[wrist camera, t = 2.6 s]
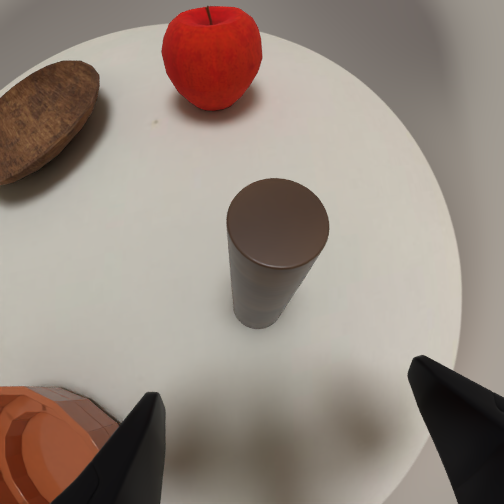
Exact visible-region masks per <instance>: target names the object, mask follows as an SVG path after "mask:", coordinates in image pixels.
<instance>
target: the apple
mask: <svg viewBox="0 0 504 504" xmlns="http://www.w3.org/2000/svg"><path fill="white" fill-rule="evenodd" d="M162 57H163V61H164V65H165V69H166V73H167V75H168V77H169V78H170V80H171V82H172V83H173V85H174V86H175V88H176V89H177V91H178V92H179V93H180V94H181V95H182V96H184V97H185V98H186V99H187V100H188V101H189V102H190V103H192V104H193V105H195V106H196V107H198V108H200V109H203V110H209V111H215V110H221V109H225V108H227V107H230V106H231V105H232V104H234V103H235V102H236V101H237V100H238V99H239V98H240V97H241V96H242V95H243V94H244V93H245V91H246V90H247V88H248V87H249V86H250V84H251V83H252V81H253V79H254V78H255V76H256V74H257V73H258V70H259V67H260V64H261V61H262V45H261V37H260V33H259V29H258V27H257V25H256V23H255V21H254V20H253V18H252V17H251V16H249V15H248V14H247V13H245V12H244V11H242V10H241V9H239V8H235V7H220V6H210V7H208V6H207V7H203V8H197V9H191V10H188V11H185V12H182V13H180V14H179V15H178V16H177V17H176V18H174V19H173V20H172V21H171V22H170V23H169V25H168V28H167V30H166V33H165V35H164V38H163V45H162Z"/></svg>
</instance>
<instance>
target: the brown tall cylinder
mask: <svg viewBox="0 0 504 504" xmlns="http://www.w3.org/2000/svg"><path fill="white" fill-rule="evenodd" d="M226 220H227V237H228V250H229V263H230V275H231V287H232V298H233V308H234V312H235V315H236V317H237V318H238V320H239V321H240V322H241V323H242V324H244V325H245V326H247V327H250V328H254V329H262V328H266V327H268V326H270V325H272V324H273V323H274V322H275V321H276V320H277V319H278V317H279V316H280V314H281V313H282V311H283V310H284V309H285V307H286V306H287V304H288V303H289V301H290V300H291V298H292V296H293V295H294V293H295V292H296V290H297V289H298V287H299V286H300V284H301V283H302V281H303V280H304V278H305V277H306V275H307V273H308V272H309V270H310V269H311V267H312V266H313V264H314V262H315V261H316V259H317V258H318V256H319V255H320V253H321V251H322V250H323V248H324V246H325V244H326V242H327V239H328V235H329V220H328V215H327V212H326V210H325V208H324V206H323V204H322V203H321V201H320V200H319V198H318V197H317V196H316V195H315V194H314V193H313V192H312V191H310V190H309V189H308V188H306V187H304V186H303V185H301V184H299V183H296V182H294V181H291V180H286V179H279V178H270V179H264V180H259V181H256V182H254V183H252V184H250V185H248V186H246V187H245V188H243V189H242V190H241V191H240V192H239V193H238V194H237V195H236V196H235V197H234V199H233V200H232V202H231V204H230V206H229V209H228V212H227V219H226Z"/></svg>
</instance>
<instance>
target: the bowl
mask: <svg viewBox="0 0 504 504" xmlns="http://www.w3.org/2000/svg"><path fill="white" fill-rule="evenodd" d="M99 87H100V85H99V74H98V73H97V71H96V70H95V69H94V68H93V66H91V65H89V64H87V63H85V62H82V61H60V62H57V63H54V64H51V65H48V66H46V67H44V68H42V69H40V70H38V71H36V72H34V73H32V74H31V75H29V76H28V77H26V78H25V79H23V80H22V81H20V82H19V83H18V84H16V85H15V86H13V87H12V88H11V89H10V90H9V91H8V92H6V93H5V94H4V95H3V96H2V97H1V98H0V185H4V184H9V183H14V182H16V181H18V180H20V179H22V178H24V177H26V176H28V175H29V174H31V173H33V172H35V171H37V170H39V169H40V168H42V167H43V166H44V165H46V164H47V163H48V162H50V161H51V160H52V159H54V158H55V157H56V156H58V155H59V154H60V153H61V151H62V150H63V149H64V148H65V147H66V146H67V144H68V143H69V142H70V141H71V140H72V139H73V138H74V137H75V136H76V134H77V133H78V132H79V131H80V130H81V129H82V128H83V126H84V124H85V123H86V121H87V119H88V118H89V116H90V115H91V113H92V111H93V108H94V106H95V103H96V101H97V97H98V92H99Z"/></svg>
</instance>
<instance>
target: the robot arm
mask: <svg viewBox="0 0 504 504" xmlns="http://www.w3.org/2000/svg"><path fill="white" fill-rule="evenodd" d="M408 380H409V383H410V385H411V388H412V391H413V394H414V397H415V400H416V403H417V406H418V408H419V411H420V413H421V415H422V417H423V420H424V422H425V424H426V426H427V428H428V431H429V433H430V435H431V437H432V440H433V442H434V444H435V446H436V449H437V451H438V453H439V456H440V458H441V461H442V463H443V465H444V467H445V470H446V473H447V475H448V478H449V480H450V482H451V485H452V488H453V491H454V494H455V496H456V499H457V502H458V504H504V397H502V396H500V395H498V394H496V393H493V392H492V391H490V390H488V389H486V388H484V387H482V386H481V385H479V384H477V383H475V382H473V381H471V380H470V379H468V378H466V377H464V376H462V375H460V374H458V373H456V372H455V371H453V370H451V369H449V368H447V367H445V366H443V365H441V364H440V363H438V362H436V361H434V360H432V359H430V358H428V357H427V356H425V355H420V356H417V357H414V358H413V360H412V362H411V365H410V368H409V371H408ZM165 418H166V412H165V407H164V404H163V401H162V399H161V396H160V394H159V393H158V392H147V393H146V394H145V395H144V396H143V397H142V398H141V400H140V401H139V402H138V403H137V405H136V406H135V407H134V408H133V410H132V411H131V412H130V413H129V415H128V416H127V417H126V418H125V420H124V421H123V422H122V423H121V425H120V426H119V427H118V428H117V429H116V431H115V432H114V433H113V434H112V436H111V437H110V438H109V439H108V441H107V442H106V443H105V444H104V446H103V447H102V448H101V449H100V450H99V452H98V453H97V454H96V455H95V457H94V458H93V459H92V461H90V463H89V464H88V465H87V466H86V468H85V469H84V470H83V471H82V472H81V473H80V475H79V476H78V477H77V478H76V479H75V480H74V481H73V482H72V483H71V484H70V485H69V486H68V487H67V488H66V489H65V490H64V491H63V492H62V493H60V494H59V495H58V496H57V497H56V498H55V499H54V500H53V501H52V502H51V503H50V504H160V500H161V489H162V479H163V470H164V461H165V451H166V440H165Z"/></svg>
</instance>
